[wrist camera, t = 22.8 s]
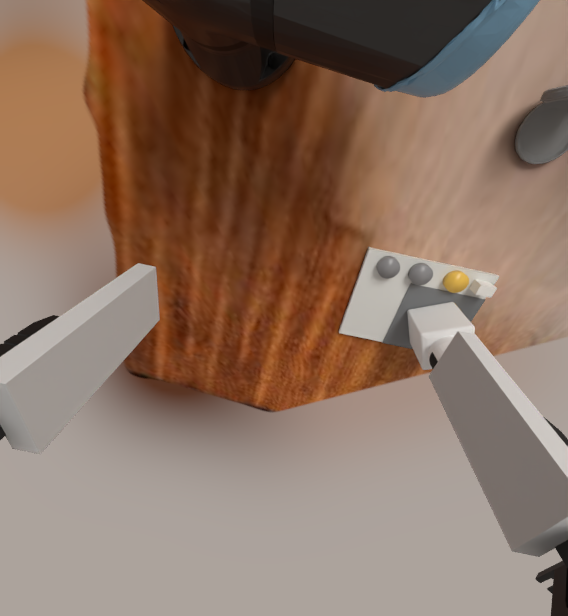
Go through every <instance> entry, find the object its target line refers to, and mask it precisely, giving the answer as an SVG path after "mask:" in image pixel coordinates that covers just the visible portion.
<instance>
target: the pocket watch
mask: <svg viewBox="0 0 568 616" xmlns="http://www.w3.org/2000/svg"><path fill="white" fill-rule="evenodd" d="M540 101H543V103H542V104H540V105H538V106H537V107H536V108H535V109H533V110H532V111H531V112H530V113H529V115H528V116H527V117H526V118H525V119H524V121H523V122H522V124H521V125H520V127H519V130H518V132H517V136H516V140H515V147H516V152H517V154H518V155H519V157H520V158H521V159H522V160H524V161H525V162H528V163H530V164H543V163H546V162H550V161H552V160H554V159H556V158H558V157H559V156H561V155H562V154H564V153H565V152H566V151H567V150H568V85H566V86H562V87H557V88H553V89H550V90H547V91H545V92H544V93H543V95H542V97H541V100H540Z"/></svg>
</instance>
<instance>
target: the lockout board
mask: <svg viewBox="0 0 568 616" xmlns="http://www.w3.org/2000/svg"><path fill="white" fill-rule="evenodd" d="M499 277H500V276H498V275H497V274H493V273H488V272H484V271H479V270H474V269H470V268H465V267H460V266H455V265H451V264H446V263H441V262H437V261H432V260H427V259H423V258H418V257H413V256H409V255H404V254H399V253H394V252H390V251H385V250H380V249H376V248H371V247H368V250H367V253H366V256H365V258H364V261H363V264H362V267H361V270H360V272H359V275H358V278H357V281H356V283H355V286H354V289H353V292H352V295H351V297H350V300H349V303H348V306H347V309H346V311H345V314H344V317H343V320H342V323H341V325H340V328H339V333H341V334H346V335H351V336H356V337H360V338H365V339H370V340H375V341H379V342H383V343H386V344H391V345H395V346H400V347H405V348H410V349H413V348H412V346H411V344H410V338H409V326H408V315H407V311H408V310H409V309H415V308H421V307H426V306H432V305H437V304H443V303H448V302H454V303H455V304H456V305H457V306H458V307H459V309H460V310H461V311H462V312H463V313H464V314H465V316H466V317H467V318H468V319H469V320H470V321H472V319H473V318H474V316H475V315H476V313H477V312H478V310H479V309H480V307H481V306H482V304H483V303H484V301H485V298H486V297H490V298H491V297H492V295H493V294H494V292H495V291H496V289H497V288H496V287H495V286H494V284H495V283H496V281H497V280H498V278H499Z"/></svg>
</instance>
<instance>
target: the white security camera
mask: <svg viewBox="0 0 568 616" xmlns="http://www.w3.org/2000/svg"><path fill="white" fill-rule="evenodd" d="M407 315H408V326H409V338H410V344H411V346H412V348H413V350H414V352H415V355H416V357H417V359H418V361H419V363H420V365H421V368H422V369H423V370H428V369H434V367H435V365H436V364H437V362H438V361H439V359H440V358H441V356H442V355H443V353H444V351H445V350H446V348H447V347H448V345H449V344H450V342H451V341H452V339H453V337H454V336H455V334H456V333H457V331H461V332H466V333H471V334H474V332H475V327H474V325H473V324H472V323H471V321H470V320H469V319H468V318H467V317H466V316H465V314H464V313H463V312H462V311H461V310H460V309H459V307H458V306H457V305H456V304H455V303H454V302H448V303H443V304H437V305H432V306H426V307H421V308H415V309H409V310H408V311H407Z"/></svg>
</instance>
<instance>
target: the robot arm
mask: <svg viewBox="0 0 568 616" xmlns="http://www.w3.org/2000/svg"><path fill="white" fill-rule="evenodd" d="M143 1H144V2H145V3H146V4H148V5H149V6H150V7H151V8H153V9H154V10H155V11H156V12H158V13H159V14H160V15H161V16H163V17H164V18H165V19H166V20H168V21H169V22H170V23H171V24H172V25H173V27H174V30H175V32H176V34H177V36H178V38H179V41H180V42H181V44H182V46H183V48H184V49H185V51H186V52H187V54H188V55H189V57H190V58H191V59H192V60H193V62H194V63H195V64H196V65H197V66H198V67H199V68H200V69H201V70H202V71H203V72H204V73H205V74H207V75H208V76H209V77H211V78H212V79H214V80H215V81H217V82H219V83H220V84H222V85H224V86H227V87H229V88H233V89H237V90H254V89H258V88H261V87H264V86H266V85H268V84H270V83H272V82H273V81H275V80H276V79H278V78H279V77H280V76H281V75H282V74H283V73H284V72H285V71H286V70H287V69H288V68H289V66H290V65H291V64H292V62H293V61H294V59H298V60H301V61H304V62H307V63H310V64H313V65H316V66H319V67H322V68H325V69H328V70H332V71H335V72H338V73H341V74H344V75H347V76H350V77H353V78H356V79H359V80H363V81H366V82H369V83H372V84H374V86H375V87H376V88H377V89H378V90H381V91H385V92H386V91H390V92H392V91H398V92H402V93H406V94H410V95H414V96H418V97H431V96H437V95H440V94H443V93H446V92H448V91H449V90H451V89H453V88H455V87H456V86H458V85H459V84H461V83H462V82H464V81H465V80H466V79H467V78H469V77H470V76H471V75H472V74H474V73H475V72H476V71H477V70H478V69H479V68H480V67H481V66H482V65H483V64H485V63H486V62H487V61H488V60H489V59H490V58H491V57H492V56H493V55H494V54H495V52H496V51H497V50H498V49H499V48H500V47H501V46H502V45H503V44H504V43H505V42H506V41H507V40H508V39H509V37H510V36H511V35H512V34H513V33H514V32H515V30H516V29H517V28H518V27H519V26H520V25H521V23H522V22H523V21H524V20H525V19H526V17H527V16H528V15H529V14H530V12H531V11H532V10H533V9H534V7H535V6H536V5H537V3H538V2H539V1H540V0H143ZM159 320H160V318H159V304H158V289H157V274H156V267H154V266H149V265H144V264H140V263H138V264H136V265H135V266H133V267H132V268H130V269H129V270H127V271H126V272H125V273H123V274H122V275H120V276H119V277H117V278H116V279H114V280H113V281H111V282H110V283H108V284H107V285H105V286H104V287H102V288H101V289H100V290H98V291H97V292H95V293H94V294H92V295H91V296H89V297H88V298H86V299H85V300H83V301H82V302H80V303H79V304H77V305H76V306H74V307H73V308H71V309H70V310H69V311H67V312H66V313H64V314H63V315H61V316H55V315H53V316H50V317H47V318H45V319H42V320H40V321H37V322H34V323H32V324H31V325H29V326H28V327H26V328H25V329H23V330H21V331H20V332H18V334H17V335H14V336H12V337H10V338H9V339H8V340H6V341H4V344H0V440H1V439H2V438H3V437H4V436H6V438H7V440H8V441H9V443H10V445H11V447H12V448H13V449H17V450H22V451H27V452H32V453H37V454H41V453H42V452H43V451H44V450H45V449H46V448H47V446H48V445H49V444H50V443H51V442H52V441H53V440H54V438H55V437H56V436H57V435H58V434H59V433H60V432H61V431H62V429H63V428H64V427H65V426H66V425H67V424H68V423H69V421H71V419H72V418H73V417H74V416H75V415H76V414H77V413H78V411H79V410H80V409H81V408H82V407H83V406H84V405H85V404H86V402H87V401H88V400H89V399H90V398H91V397H92V396H93V395H94V393H95V392H96V391H97V390H98V389H99V388H100V386H101V385H102V384H103V383H104V382H105V381H106V380H107V379H108V378H109V376H110V375H111V374H112V373H113V372H114V371H115V370H116V368H117V367H118V366H119V365H120V364H121V363H122V362H123V361H124V359H125V358H126V357H127V356H128V355H129V354H130V353H131V352H132V350H133V349H134V348H135V347H136V346H137V345H138V344H139V343H140V341H141V340H142V339H143V338H144V337H145V336H146V335H147V333H148V332H149V331H150V330H151V329H152V328H153V327H154V326H155V324H156V323H157V322H158V321H159ZM429 378H430V380H431V382H432V384H433V387H434V389H435V391H436V393H437V395H438V397H439V399H440V401H441V403H442V405H443V407H444V410H445V412H446V414H447V416H448V418H449V420H450V422H451V424H452V426H453V428H454V431H455V433H456V435H457V437H458V439H459V441H460V443H461V445H462V447H463V449H464V452H465V454H466V456H467V458H468V460H469V462H470V464H471V466H472V468H473V470H474V473H475V475H476V477H477V479H478V481H479V483H480V485H481V487H482V489H483V491H484V494H485V496H486V498H487V500H488V502H489V504H490V506H491V508H492V510H493V512H494V515H495V517H496V519H497V521H498V523H499V525H500V527H501V529H502V531H503V533H504V535H505V538H506V540H507V542H508V544H509V546H510V548H511V550H512V551H514V552H518V553H523V554H528V555H533V556H538V557H540V556H541V555H543V554H545V553H547V552H548V551H550V550H552V549H554V548H556V550H557V551H558V553H559V555H560V557H561V558H562V560H563V561H561V562H560V563H558V564H555V565H553V566H551V567H549V568H548V569H546V570H544V571H542V572H540V573H538V575H537V577H536V580H537V581H538V582H540V583H542V582H544V581H545V580H548V579H550V578H552V579H554V582H553V586H551V587H549V588H548V590H549V591H550V592H551V593H552V594H553V595H552V608H551V616H568V439H567V438H566V437H565V436H564V434H563V433H562V432H561V431H560V430H559V429H557V428H556V427H555V426H554V425H553V424H551V423H550V422H549V421H548V420H547V419H546V418H544V417H543V416H542V415H541V414H540V412H539V411H538V410H537V409H536V408H535V406H534V405H533V404H532V403H531V402H530V400H529V399H528V398H527V397H526V395H525V394H524V393H523V392H522V391H521V390H520V388H519V387H518V386H517V385H516V383H515V382H514V381H513V380H512V379H511V377H510V376H509V375H508V374H507V372H506V371H505V370H504V369H503V368H502V366H501V365H500V364H499V363H498V362H497V360H496V359H495V358H494V357H493V355H492V354H491V353H490V352H489V350H488V349H487V348H486V347H485V346H484V344H483V343H482V342H481V341H480V340H479V338H478V337H477V336H476V335H475V334H471V333H466V332H461V331H457V333H456V334H455V336H454V337H453V339H452V341H451V342H450V344H449V345H448V347H447V348H446V350H445V351H444V353H443V355H442V356H441V358H440V359H439V361H438V362H437V364H436V365H435V367H434V369H433V370H432V372H431V373H430V375H429Z"/></svg>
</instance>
